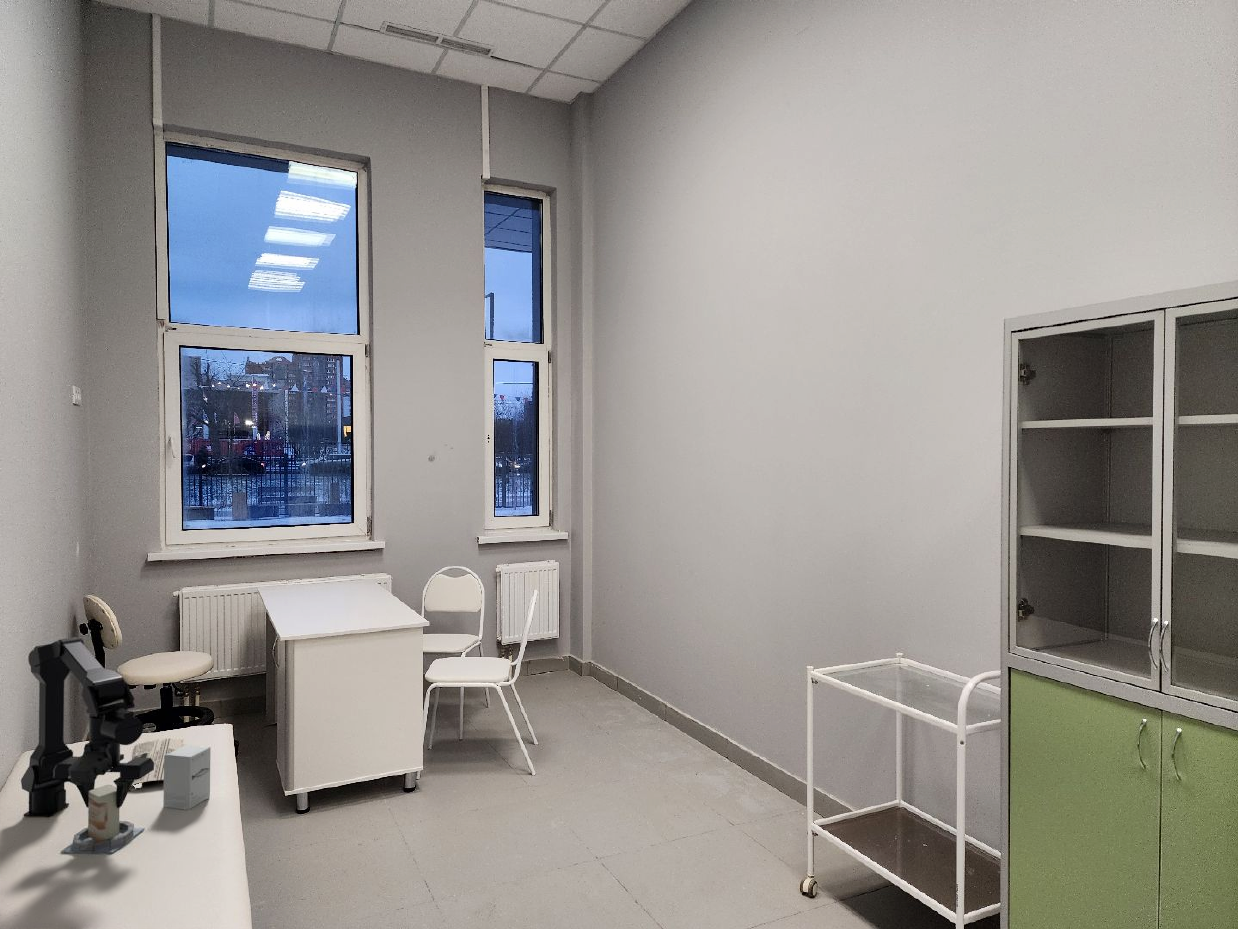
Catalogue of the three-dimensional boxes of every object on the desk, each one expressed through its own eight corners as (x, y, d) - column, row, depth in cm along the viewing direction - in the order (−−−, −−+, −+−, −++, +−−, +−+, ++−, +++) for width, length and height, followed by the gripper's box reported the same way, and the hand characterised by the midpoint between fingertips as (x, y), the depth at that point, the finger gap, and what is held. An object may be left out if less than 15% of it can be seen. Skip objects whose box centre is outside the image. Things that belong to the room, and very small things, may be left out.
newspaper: (134, 750, 228) (134, 738, 228) (183, 743, 234) (183, 731, 234) (127, 796, 197) (127, 781, 197) (184, 786, 203) (184, 772, 203)
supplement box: (189, 810, 188) (189, 757, 188) (162, 807, 190) (162, 754, 190) (211, 797, 195) (211, 746, 195) (185, 795, 197) (185, 744, 197)
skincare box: (87, 836, 172) (87, 790, 172) (109, 829, 176) (109, 783, 176) (98, 843, 169) (98, 796, 169) (120, 835, 173) (120, 789, 173)
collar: (60, 853, 167) (60, 844, 167) (95, 829, 178) (96, 820, 178) (112, 854, 167) (112, 845, 167) (144, 830, 178) (144, 821, 178)
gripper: (34, 748, 165) (33, 823, 165) (123, 749, 164) (123, 825, 164) (72, 730, 176) (71, 800, 176) (155, 731, 175) (155, 802, 176)
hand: (104, 807), depth 173 cm, fingers closed on skincare box, 6 cm apart
